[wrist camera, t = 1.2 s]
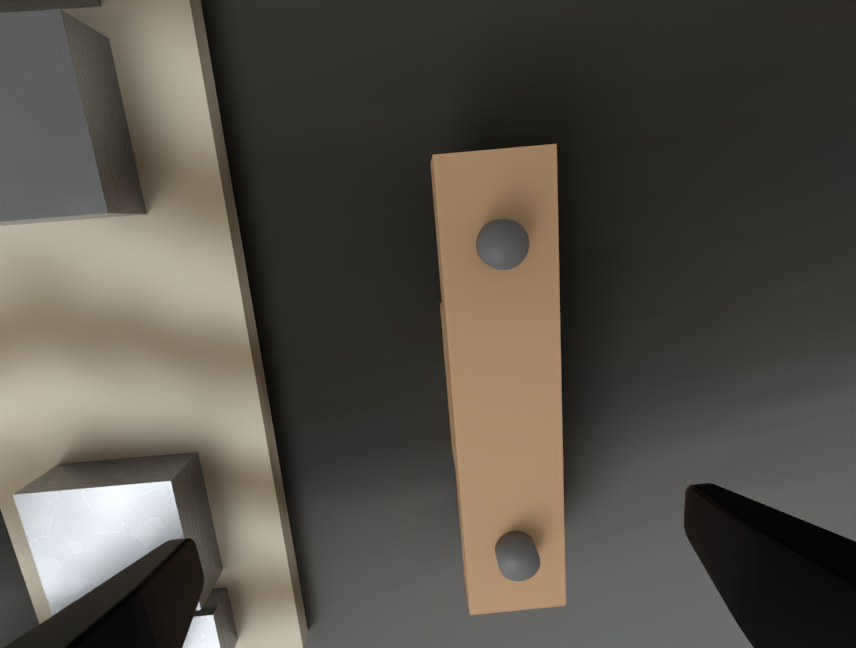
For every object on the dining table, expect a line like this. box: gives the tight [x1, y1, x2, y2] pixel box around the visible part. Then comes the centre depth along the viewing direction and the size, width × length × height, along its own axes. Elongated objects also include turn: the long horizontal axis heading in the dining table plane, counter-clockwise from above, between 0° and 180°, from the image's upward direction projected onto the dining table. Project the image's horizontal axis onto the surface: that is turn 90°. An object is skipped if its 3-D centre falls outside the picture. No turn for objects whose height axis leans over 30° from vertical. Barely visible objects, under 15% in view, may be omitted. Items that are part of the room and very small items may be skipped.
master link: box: [431, 144, 566, 615], centre depth 18 cm, size 18×4×5 cm, turn 5°
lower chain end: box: [13, 452, 238, 648], centre depth 19 cm, size 10×6×2 cm, turn 4°
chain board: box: [0, 0, 308, 648], centre depth 18 cm, size 32×12×1 cm, turn 4°
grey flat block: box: [0, 0, 147, 226], centre depth 14 cm, size 10×6×2 cm, turn 4°
